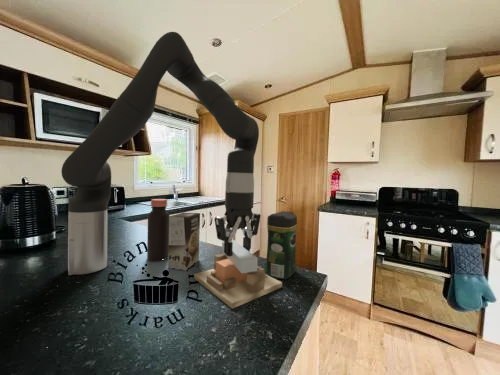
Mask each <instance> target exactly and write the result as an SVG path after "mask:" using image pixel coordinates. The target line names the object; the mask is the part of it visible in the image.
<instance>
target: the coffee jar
mask: <svg viewBox="0 0 500 375" xmlns="http://www.w3.org/2000/svg"><path fill="white" fill-rule="evenodd" d="M266 221H267V222H266V228H267V243H266V244H267V246H266V258H265V259H266V260H265V274H266V275H268V276H270V277H272V278H274V279H276V280H280V279H281V280H288V279H289V278H290V277H292V276H293V275H294V273H295V272H296V267H297V266H296V265H297V264H296V262H297V261H296V254H297V253H296V251H297V250H296V248H297V247H296V246H297V229H298V218H297V215H296V214H295V213H294V212H293V211H284V210H282V211H278V212H275V213H271V214H270V215H267V219H266Z"/></svg>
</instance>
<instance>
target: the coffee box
mask: <svg viewBox="0 0 500 375" xmlns="http://www.w3.org/2000/svg"><path fill="white" fill-rule="evenodd" d="M169 217H170V218H169V253H168V258H167V259H168V261H167V262H168V263H167V268H168V267H170V268H169V269H172V268H175V269H174V270H179V269H182V271H187V270H188V268H189V269H190V268H191V267H192V266H193V265H195V264H196V263H197V262H198V261H200V234H201V233H200V230H201V229H200V228H201V212H181V213H180V212H179V213H177V214H173V215H170V216H169ZM194 263H195V264H194Z"/></svg>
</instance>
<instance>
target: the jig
mask: <svg viewBox="0 0 500 375" xmlns="http://www.w3.org/2000/svg"><path fill="white" fill-rule="evenodd" d="M213 257H214V260H213V263H214V264H213V268H211V269H208V270H204V271H201V272H197V273H194V275H193V278H194V279H195V280H196V281H197V282H199V283H200V284H201V285H202V286H203V287H204V288H206V289H207V290H208V291H210V293H212V294H213V295H214V296H215V297H217V298H218V299H220V301H222V302H223V303H225V305H226V306H228V307H229V308H230V309H231V310H233V309H235V308H237V307H239V306H242V305H244V304H247V303H249V302H251V301H254V300H256V299H258V298H261V297H262V296H264V295H267V294H269V293H272V292H274V291H276V290H279V289H281V288H282V287H283V282H282V281H281V280H279V279H276V278H272V277H270V276H269V275H267V274H266V268H264V267H261V266H259V265H257V271H254V272H249V273H247V279H245V280H242V281H239V282H236V278H234V277H233V278H230V279H227V280H224V287H223V283H222V282H220V281H219V280H217V279H216V278H215V274H216V262H217V261H221V260H225V259H228V258H227V256H226V255H225V254H224V253H223V252H222V253H219V254H215V255H214V256H213Z"/></svg>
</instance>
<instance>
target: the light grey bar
mask: <svg viewBox="0 0 500 375" xmlns="http://www.w3.org/2000/svg"><path fill="white" fill-rule="evenodd" d="M232 242H233V248H232V256H230V257H229V256H227V255H226V254H225V253H224V241H222V240H221V244H222V245H221V252H222V253H224V254H225V255H226V256H227V258H228V259H229V260H230V261H231V262H232V263H233V264H234V265H235V267H236V268H237V269H238V270H239V271H240V272H241V273H247V272H254V271H257V266H258V257H257V256H255V255H254V254H253V253H252V252H250V251H248V250H246V249H245V248H244V247H243V245H241V243H239V242H238V241H237V240H235V239H234V240H233V239H232ZM256 257H257V258H256Z"/></svg>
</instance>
